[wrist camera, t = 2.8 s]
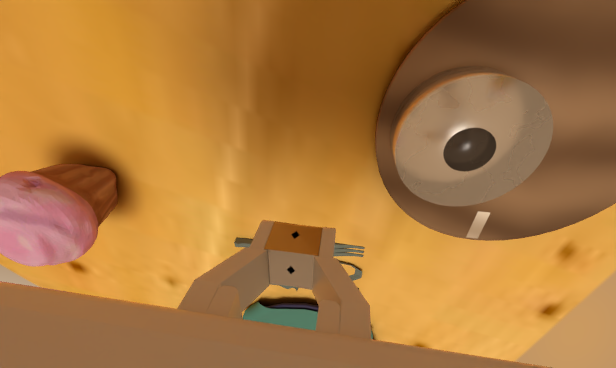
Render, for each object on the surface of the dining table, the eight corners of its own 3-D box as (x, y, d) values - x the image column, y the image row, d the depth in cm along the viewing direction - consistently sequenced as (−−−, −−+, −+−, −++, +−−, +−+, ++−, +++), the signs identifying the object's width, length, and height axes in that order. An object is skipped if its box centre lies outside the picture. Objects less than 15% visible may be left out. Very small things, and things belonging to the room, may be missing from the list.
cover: (404, 61, 18) (413, 71, 15) (553, 69, 17) (589, 81, 14) (380, 178, 23) (384, 200, 20) (495, 189, 22) (513, 214, 19)
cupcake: (140, 221, 32) (65, 296, 24) (67, 198, 32) (-35, 266, 24) (135, 158, 27) (40, 225, 19) (49, 130, 27) (-87, 185, 19)
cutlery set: (251, 359, 48) (247, 374, 46) (221, 227, 32) (213, 241, 30) (367, 375, 45) (368, 392, 44) (397, 242, 30) (401, 258, 28)
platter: (405, -45, 16) (408, -48, 15) (814, -39, 14) (841, -42, 13) (359, 220, 27) (360, 226, 26) (584, 245, 25) (591, 253, 24)
